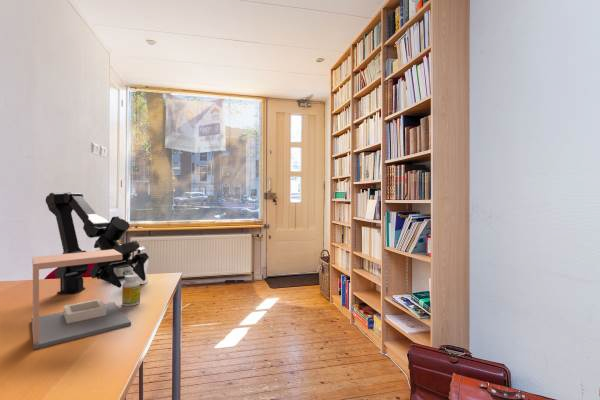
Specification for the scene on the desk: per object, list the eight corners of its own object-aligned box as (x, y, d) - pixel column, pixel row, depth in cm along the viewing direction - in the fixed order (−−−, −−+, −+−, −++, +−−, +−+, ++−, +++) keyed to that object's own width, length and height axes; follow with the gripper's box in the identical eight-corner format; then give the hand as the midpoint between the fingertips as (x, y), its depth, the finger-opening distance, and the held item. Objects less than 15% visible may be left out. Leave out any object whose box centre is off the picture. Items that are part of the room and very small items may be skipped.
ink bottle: (115, 280, 132) (115, 253, 132) (104, 277, 137) (104, 251, 137) (136, 275, 141) (137, 250, 140) (126, 273, 145) (126, 248, 145)
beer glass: (152, 281, 131) (152, 247, 131) (139, 286, 124) (139, 249, 124) (140, 280, 133) (140, 246, 133) (126, 284, 126) (126, 248, 126)
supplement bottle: (132, 307, 101) (132, 278, 101) (118, 305, 102) (118, 277, 102) (143, 301, 106) (143, 274, 106) (130, 300, 107) (130, 273, 107)
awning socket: (31, 321, 89) (31, 251, 88) (114, 304, 103) (114, 244, 103) (33, 349, 72) (33, 264, 72) (131, 325, 87) (131, 254, 86)
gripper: (95, 237, 97) (118, 274, 93) (145, 231, 114) (167, 262, 110) (79, 259, 100) (101, 296, 96) (130, 250, 117) (151, 281, 113)
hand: (133, 283), depth 104 cm, fingers open, 9 cm apart
